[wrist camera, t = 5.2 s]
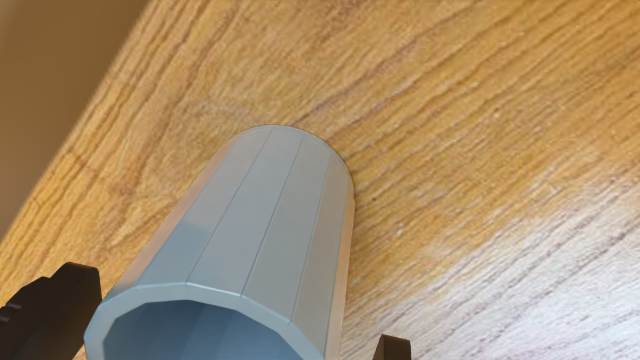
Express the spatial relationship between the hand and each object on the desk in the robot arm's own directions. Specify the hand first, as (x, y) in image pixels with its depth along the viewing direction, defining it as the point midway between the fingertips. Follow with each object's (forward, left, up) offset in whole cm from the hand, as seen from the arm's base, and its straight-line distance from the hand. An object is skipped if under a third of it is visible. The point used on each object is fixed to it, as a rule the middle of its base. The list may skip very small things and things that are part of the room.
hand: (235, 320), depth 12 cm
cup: (0, 0, -7) cm, 7 cm away
